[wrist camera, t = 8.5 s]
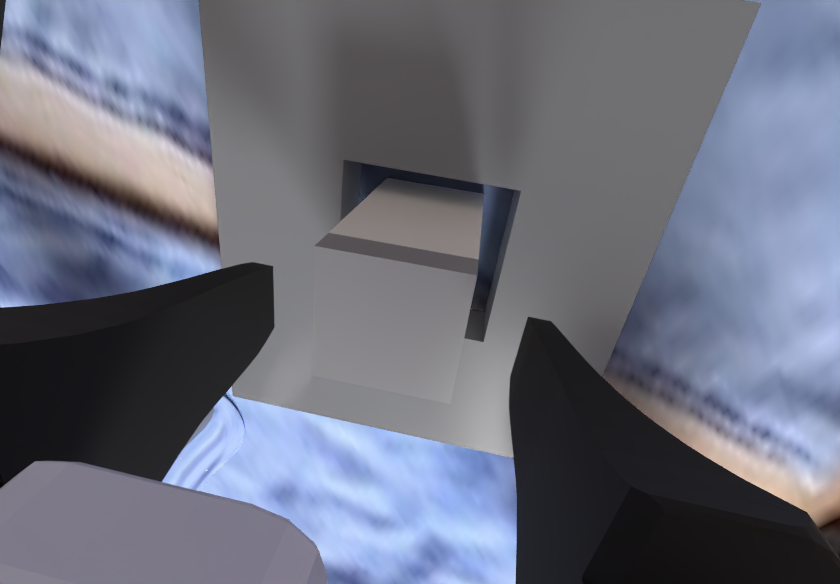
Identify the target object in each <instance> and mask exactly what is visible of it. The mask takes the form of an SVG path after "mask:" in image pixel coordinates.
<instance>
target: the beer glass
mask: <svg viewBox="0 0 840 584" xmlns="http://www.w3.org/2000/svg"><path fill="white" fill-rule="evenodd" d="M244 436H245V428H244V424H243V420H242V418H241V416H240V414H239V412H238V411H237V409H236V408H235V406H234V405H233V404H232V403H231V402H230V401H229V400H228V399H227V398H226V397H225V396H223V397H222V398H221V399H220V400H219V401H218V403H217V404H216V405H215V406H214V407H213V408H212V410H211V411H210V412H209V413H208V415H207V416H206V417H205V418H204V420H203V421H202V422H201V424H200V425H199V426H198V428H197V429H196V431H195V432H194V434H193V435H192V437H191V438H190V440H189V441H188V442H187V444H186V445H185V447H184V448H183V450H182V451H181V453H180V454H179V456H178V457H177V459H176V460H175V462H174V464H173V465H172V467H171V468H170V470H169V472H168V473H167V475H166V476H165V478H164V479H163V481H162V482H164V483H168V484H172V485H176V486H180V487H184V488H188V489H193V490H197V491H201V489H202V488H203V487H204V486H205V484H206V483H207V482H208V480H209V479H210V478H211V477H212V476H213V475H214V474H215V473H216V472H217V471H218V470H219V469H220V468H221V467H222V466H223V465H224V464H225V463H226V462H227V461H228V460H229V459H230V458H231V457H232V456H233V455H234V454H235V453H236V452H237V450H238V449H239V448H240V446H241V445H242V443H243V440H244Z"/></svg>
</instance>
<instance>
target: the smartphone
mask: <svg viewBox="0 0 840 584" xmlns="http://www.w3.org/2000/svg"><path fill="white" fill-rule="evenodd" d="M5 2H6V0H0V47H1V38H2V29H3V20H4V11H5Z"/></svg>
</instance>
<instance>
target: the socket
mask: <svg viewBox="0 0 840 584" xmlns="http://www.w3.org/2000/svg"><path fill="white" fill-rule="evenodd" d="M760 5H761V3H757V2H750V1H743V0H199V11H200V22H201V34H202V45H203V57H204V68H205V80H206V91H207V103H208V115H209V126H210V138H211V149H212V161H213V172H214V184H215V195H216V207H217V218H218V230H219V242H220V253H221V265H222V269H223V268H227V267H231V266H235V265H239V264H243V263H250V262H255V263H260V264H265V265H270V266H273V281H274V324H275V327H274V329H273V331H272V333H271V334H270V336H269V338H268V339H267V341H266V343H265V344H264V346H263V348H262V349H261V351H260V352H259V354H258V355H257V356H256V358H255V359H254V360H253V361H252V362H251V364H250V365H249V366H248V367H247V368H246V370H245V371H244V372H243V373H242V374H241V376H240V377H239V378H238V379H237V380H236V381H235V383H234V384H233V385H232V392H233V396H235V397H239V398H244V399H248V400H253V401H258V402H262V403H267V404H271V405H276V406H280V407H285V408H289V409H294V410H298V411H303V412H307V413H312V414H316V415H321V416H325V417H330V418H334V419H339V420H343V421H348V422H352V423H357V424H361V425H366V426H370V427H375V428H379V429H384V430H388V431H393V432H397V433H402V434H406V435H411V436H416V437H420V438H425V439H429V440H434V441H438V442H443V443H447V444H452V445H456V446H461V447H465V448H470V449H474V450H479V451H483V452H488V453H492V454H497V455H501V456H506V457H510V458H514V456H513V446H512V436H511V426H510V416H509V388H510V375H511V372H512V368H513V365H514V362H515V358H516V355H517V352H518V348H519V345H520V342H521V338H522V335H523V331H524V328H525V325H526V321H527V318H528V317H533V318H538V319H543V320H548V321H551V322H552V323H553V324H554V325H555V326H556V327H557V328H558V329H559V330H560V331H561V333H562V334H563V335H564V336H565V337H566V338H567V340H568V341H569V342H570V343H571V344H572V345H573V346H574V348H575V349H576V350H577V351H578V352H579V353H580V354H581V355H582V357H583V358H584V359H585V360H586V361H587V362H588V363H589V364H590V365H591V366H592V367H593V368H594V369H595V370H596V371H597V373H598V374H599V375H600V376H603V373H604V371H605V369H606V366H607V364H608V362H609V359H610V357H611V355H612V352H613V350H614V348H615V345H616V343H617V340H618V338H619V336H620V333H621V331H622V329H623V326H624V324H625V322H626V319H627V317H628V315H629V312H630V310H631V308H632V305H633V303H634V301H635V298H636V296H637V294H638V291H639V289H640V287H641V284H642V282H643V280H644V277H645V275H646V272H647V270H648V268H649V265H650V263H651V261H652V258H653V256H654V254H655V251H656V249H657V247H658V244H659V242H660V240H661V237H662V235H663V233H664V230H665V228H666V226H667V223H668V221H669V219H670V216H671V214H672V212H673V209H674V207H675V204H676V202H677V200H678V197H679V195H680V193H681V190H682V188H683V186H684V183H685V181H686V179H687V176H688V174H689V172H690V169H691V167H692V165H693V162H694V160H695V158H696V155H697V153H698V151H699V148H700V146H701V144H702V141H703V139H704V136H705V134H706V132H707V129H708V127H709V125H710V122H711V120H712V118H713V115H714V113H715V111H716V108H717V106H718V104H719V101H720V99H721V97H722V94H723V92H724V90H725V87H726V85H727V83H728V80H729V78H730V76H731V73H732V71H733V68H734V66H735V64H736V61H737V59H738V57H739V54H740V52H741V50H742V47H743V45H744V43H745V40H746V38H747V36H748V33H749V31H750V29H751V26H752V24H753V22H754V19H755V17H756V15H757V12H758V10H759V8H760ZM362 163H365V164H371V165H377V166H382V167H388V168H394V169H399V170H405V171H411V172H417V173H422V174H428V175H434V176H439V177H445V178H451V179H457V180H462V181H468V182H474V183H479V184H485V185H491V186H497V187H502V188H508V189H514V193H513V197H512V202H511V206H510V210H509V214H508V218H507V222H506V226H505V230H504V235H503V239H502V243H501V247H500V251H499V255H498V259H497V263H496V268H495V272H494V276H493V280H492V284H491V288H490V292H489V296H488V301H487V305H486V309H485V312H481V311H476V310H471V309H470V313H469V318H468V322H467V327H466V332H465V337H464V341H463V346H462V351H461V356H460V360H459V365H458V370H457V375H456V379H455V384H454V389H453V393H452V398H451V403H450V404H448V403H443V402H438V401H434V400H429V399H424V398H419V397H414V396H409V395H405V394H400V393H395V392H390V391H385V390H380V389H376V388H371V387H366V386H361V385H356V384H351V383H346V382H342V381H337V380H332V379H327V378H322V377H317V376H313V306H314V246H315V245H316V244H317V243H318V242H319V241H320V240H321V239H322V238H323V237H324V236H325V235H326V234H328V233H329V232H330V231H331V230H332V229H333V228H334V227H335V226H336V225H337V224H338V223H339V222H340V221H341V220H343V219H344V218H345V217H346V216H347V215H348V214H349V213H350V212H351V211H352V210H353V209H354V208H355V207H356V206H358V205H359V197H360V183H361V170H362Z"/></svg>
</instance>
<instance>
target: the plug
mask: <svg viewBox="0 0 840 584" xmlns="http://www.w3.org/2000/svg"><path fill="white" fill-rule="evenodd" d="M483 203H484V194H481V193H475V192H469V191H463V190H457V189H451V188H445V187H439V186H433V185H427V184H421V183H415V182H409V181H403V180H397V179H391V178H386V179H385V180H384V181H383V182H382V183H381V184H380V185H379V186H378V187H377V188H376V189H375V190H374V191H373V192H371V193H370V194H369V195H368V196H367V197H366V198H365V199H364V200H363V201H362V202H361V203H360V204H359V205H358V206H356V207H355V208H354V209H353V210H352V211H351V212H350V213H349V214H348V215H347V216H346V217H345V218H344V219H343V220H341V221H340V222H339V223H338V224H337V225H336V226H335V227H334V228H333V229H332V230H331V231H330V232H329V233H328V234H326V235H325V236H324V237H323V238H322V239H321V240H320V241H319V242H318V243H317V244H316V245H315V246H314V306H313V376H317V377H322V378H327V379H332V380H337V381H342V382H346V383H351V384H356V385H361V386H366V387H371V388H376V389H380V390H385V391H390V392H395V393H400V394H405V395H409V396H414V397H419V398H424V399H429V400H434V401H438V402H443V403H448V404H450V403H451V398H452V393H453V389H454V384H455V379H456V375H457V370H458V365H459V360H460V356H461V351H462V346H463V341H464V337H465V332H466V327H467V322H468V318H469V313H470V308H471V303H472V299H473V294H474V289H475V284H476V280H477V274H478V263H479V251H480V239H481V227H482V215H483Z"/></svg>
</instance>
